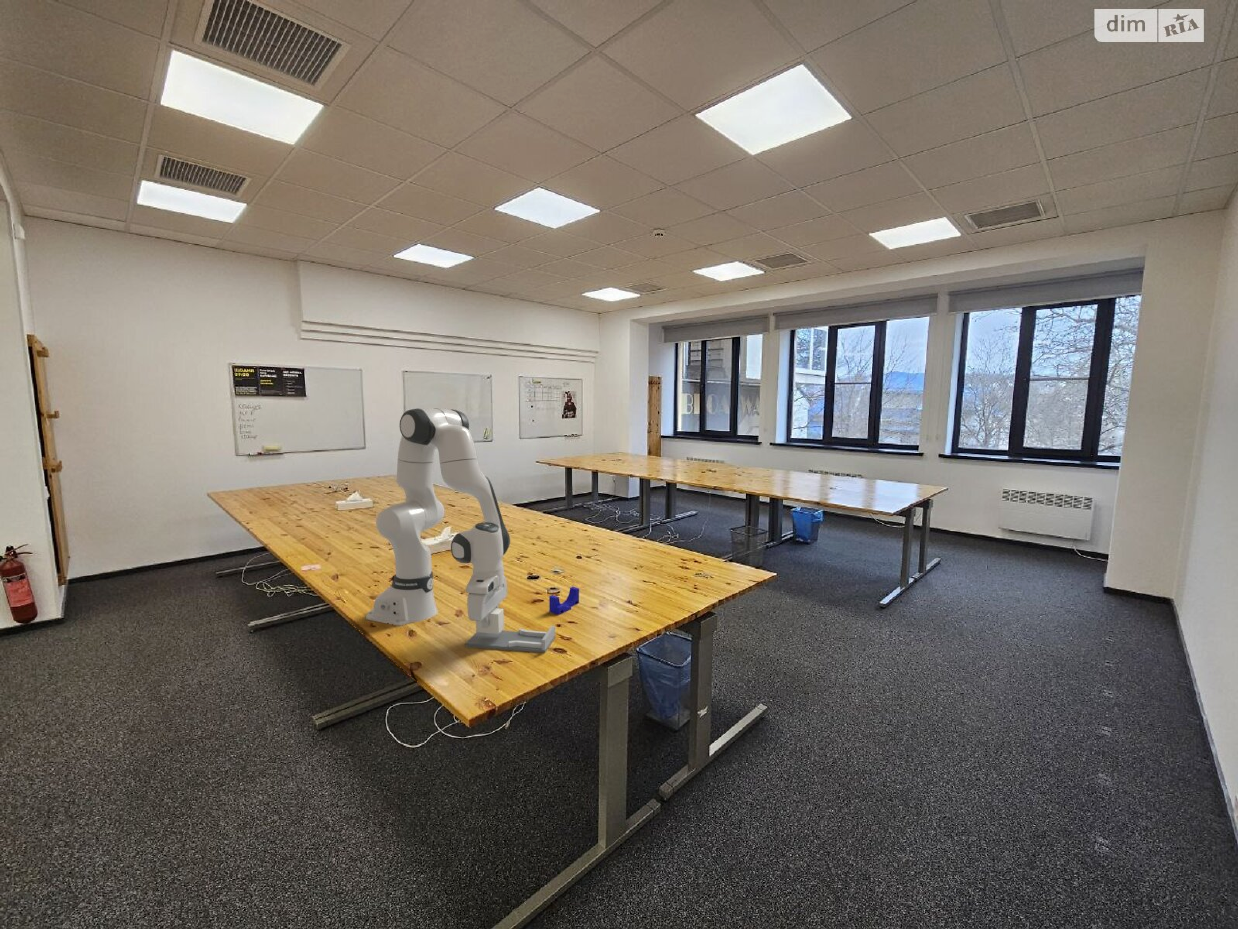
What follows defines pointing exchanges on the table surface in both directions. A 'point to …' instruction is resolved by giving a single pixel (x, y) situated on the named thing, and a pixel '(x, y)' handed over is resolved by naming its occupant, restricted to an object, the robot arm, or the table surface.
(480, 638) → the mounting plate
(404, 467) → the robot arm
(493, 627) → the panel block
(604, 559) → the table surface
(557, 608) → the cable clip
